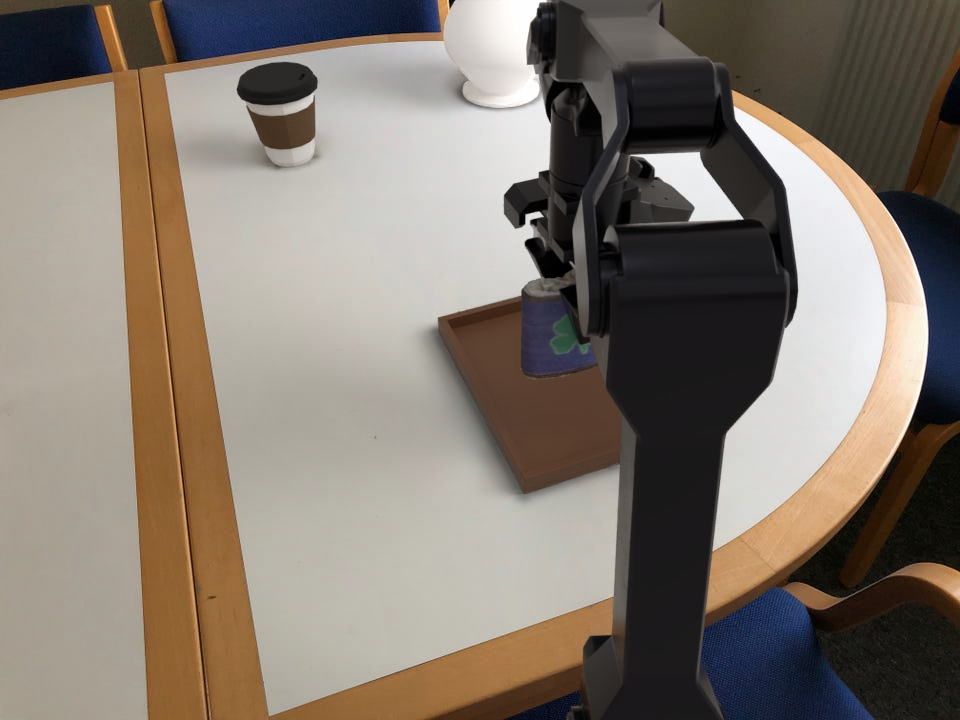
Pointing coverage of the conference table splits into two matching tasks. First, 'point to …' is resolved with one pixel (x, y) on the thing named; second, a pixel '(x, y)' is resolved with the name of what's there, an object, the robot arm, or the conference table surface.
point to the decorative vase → (492, 50)
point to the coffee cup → (282, 109)
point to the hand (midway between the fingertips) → (576, 331)
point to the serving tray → (532, 400)
